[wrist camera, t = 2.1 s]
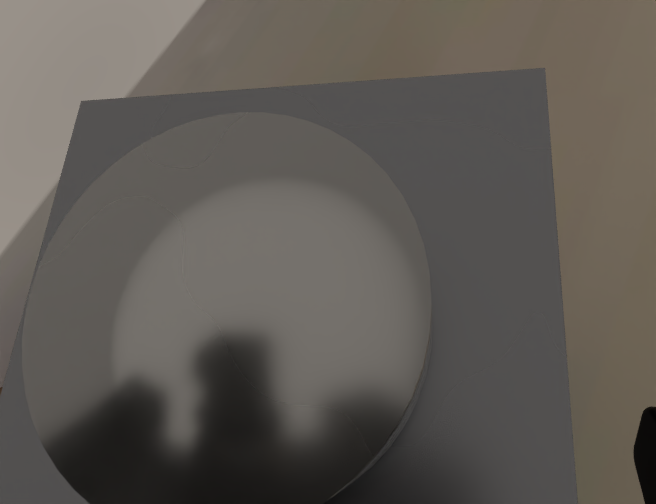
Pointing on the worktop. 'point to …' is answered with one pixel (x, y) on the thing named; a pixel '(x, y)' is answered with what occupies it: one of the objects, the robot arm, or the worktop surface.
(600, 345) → the worktop surface
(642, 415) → the robot arm
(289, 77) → the worktop surface
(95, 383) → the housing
